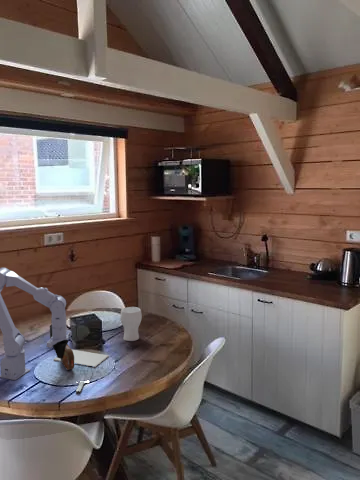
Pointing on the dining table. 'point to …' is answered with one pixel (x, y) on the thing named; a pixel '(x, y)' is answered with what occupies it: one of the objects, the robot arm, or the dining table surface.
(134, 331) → the cup
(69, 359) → the tin
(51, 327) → the supplement bottle
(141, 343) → the dining table surface
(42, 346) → the dining table surface
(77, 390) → the y-shaped peeler
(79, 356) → the board
